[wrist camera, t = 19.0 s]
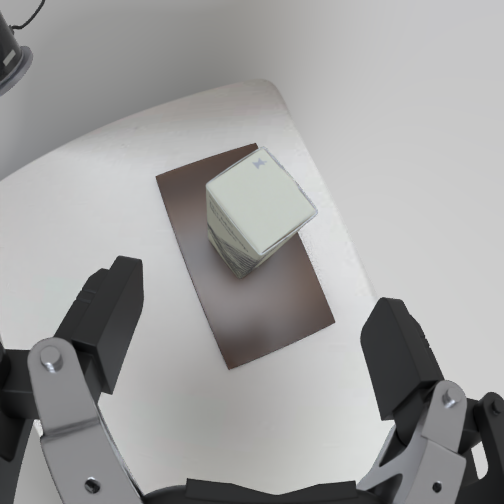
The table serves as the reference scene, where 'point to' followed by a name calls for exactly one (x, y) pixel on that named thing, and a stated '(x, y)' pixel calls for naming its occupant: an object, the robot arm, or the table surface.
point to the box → (254, 210)
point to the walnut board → (250, 286)
